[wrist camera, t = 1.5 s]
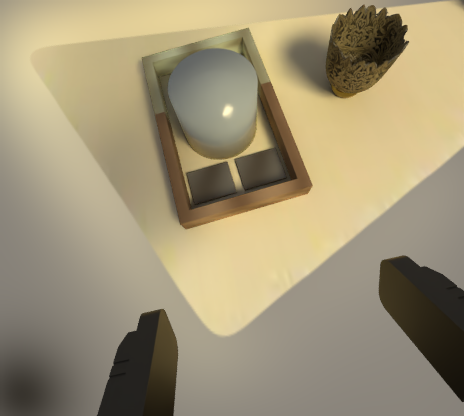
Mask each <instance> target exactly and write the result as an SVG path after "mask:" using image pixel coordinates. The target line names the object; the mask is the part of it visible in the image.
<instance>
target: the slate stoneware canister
mask: <svg viewBox="0 0 464 416" xmlns="http://www.w3.org/2000/svg"><path fill="white" fill-rule="evenodd" d="M257 87H258V79H257V74H256V71H255V69H254V67H253V65H252V64H251V63H250V62H249V61H248V59H246V58H245V57H244V56H242V55H241V54H239V53H237V52H235V51H232V50H228V49H221V48H212V49H205V50H201V51H198V52H195V53H193V54H191V55H189V56H188V57H186V58H185V59H183V60H182V61H181V62H180V63H179V64H178V65H177V66H176V67H175V69H174V70H173V72H172V74H171V76H170V78H169V82H168V95H169V98H170V101H171V103H172V106H173V108H174V110H175V113H176V115H177V117H178V120H179V122H180V125H181V127H182V129H183V132H184V134H185V136H186V139H187V141H188V143H189V145H190V146H191V147H192V149H193V150H194V151H195V152H197V153H198V154H200V155H201V156H204V157H206V158H210V159H216V160H222V159H228V158H232V157H234V156H237V155H239V154H240V153H242V152H243V151H245V150H246V149H247V148H248V147H249V146H250V144H251V143H252V141H253V139H254V137H255V134H256V126H257Z"/></svg>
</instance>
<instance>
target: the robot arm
mask: <svg viewBox="0 0 464 416" xmlns="http://www.w3.org/2000/svg"><path fill="white" fill-rule="evenodd" d="M379 296H380V300H381V302H382V304H383V306H384V308H385V309H386V310H387V312H388V313H389V314H390V315H391V316H392V318H393V319H394V320H395V321H396V323H397V324H398V325H399V326H400V327H401V329H402V330H403V331H404V332H405V333H406V335H407V336H408V337H409V338H410V340H411V341H412V342H413V343H414V344H415V346H416V347H417V348H418V349H419V350H420V352H421V353H422V354H423V355H424V356H425V358H426V359H427V360H428V361H429V362H430V364H431V365H432V366H433V367H434V369H435V370H436V371H437V372H438V373H439V374H440V376H441V377H442V378H443V379H444V381H445V382H446V383H447V384H448V385H449V386H450V388H451V389H452V390H453V392H454V393H455V394H456V395H457V396H458V398H459V399H460V400H461V401H462V402H464V291H463V290H462V289H461V288H458V287H457V285H455V284H454V283H453V282H452V281H450V280H449V279H448V278H447V277H445V276H444V275H443V274H441V273H438V272H436V271H434V270H432V269H430V268H428V267H420V266H419V265H417V264H416V263H415V262H414V261H412V260H411V259H410V258H409V257H407V256H399V257H394V258H390V259H386V260H382V262H381V265H380V279H379ZM177 361H178V346H177V340H176V337H175V334H174V332H173V329H172V327H171V324H170V322H169V319H168V317H167V314H166V312H165V310H164V309H160V310H155V311H151V312H147V313H143V314H141V316H140V319H139V323H138V327H137V331H133V332H129V333H128V334H127V335H126V337H125V338H124V339H123V341H122V342H121V344H120V345H119V347H118V349H117V353H116V356H115V359H114V366H112V369H111V372H110V375H109V377H110V379H109V380H108V382H107V385H106V388H105V392H104V395H103V399H102V402H101V405H100V408H99V412H98V415H97V416H173V413H174V401H175V388H176V375H177Z"/></svg>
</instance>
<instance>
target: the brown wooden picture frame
mask: <svg viewBox="0 0 464 416" xmlns="http://www.w3.org/2000/svg"><path fill="white" fill-rule="evenodd" d="M212 48H221V49H228V50H232V51H235V52H237V53H239V54H242V53H243V54H244V57H245V58H246V59H248V61H249V62H250V63H251V64H252V65H253V67H254V69H255V71H256V74H257V79H258V87H257V91H258V94H259V96H260V99H261V102H262V104H263V107H264V109H265V112H266V115H267V117H268V120H269V123H270V125H271V128H272V130H273V133H274V136H275V138H276V141H277V144H278V146H279V149H280V151H281V154H282V157H283V159H284V162H285V165H286V167H287V170H288V172H289V175H290V178H291V181H288V182H284V183H281V184H278V185H274V186H271V187H267V188H264V189H260V190H257V191H254V192H250V193H247V194H243V195H240V196H236V197H233V198H230V199H226V200H223V201H219V202H216V203H213V204H209V205H206V206H202V207H199V208H195V209H192V208H191V204H190V200H189V196H188V192H187V188H186V184H185V180H184V176H183V172H182V168H181V164H180V160H179V156H178V152H177V148H176V144H175V140H174V136H173V132H172V128H171V124H170V120H169V116H168V112H167V108H166V104H165V100H164V96H163V92H162V88H161V84H160V80H159V77H160V76H164V75H167V74H171V73H172V72H173V70H174V69H175V67H176V66H177V65H178V64H179V63H180V62H181V61H182V60H183V59H185V58H186V57H188V56H189V55H191V54H193V53H195V52H198V51H201V50H205V49H212ZM142 61H143V66H144V70H145V74H146V79H147V83H148V87H149V91H150V96H151V100H152V104H153V109H154V113H155V117H156V122H157V126H158V130H159V134H160V139H161V143H162V147H163V152H164V156H165V160H166V164H167V169H168V173H169V177H170V182H171V186H172V190H173V195H174V199H175V203H176V207H177V212H178V216H179V220H180V224H181V225H182V226H183V227H184V228H185V229H189V228H192V227H196V226H199V225H202V224H206V223H209V222H213V221H216V220H219V219H223V218H226V217H230V216H233V215H236V214H240V213H243V212H247V211H250V210H254V209H257V208H260V207H264V206H267V205H271V204H274V203H277V202H281V201H284V200H288V199H291V198H294V197H298V196H301V195H305V194H308V192H309V191H310V189H311V187H312V186H313V185H312V183H311V180H310V178H309V175H308V173H307V170H306V168H305V166H304V163H303V161H302V158H301V156H300V153H299V151H298V148H297V146H296V143H295V141H294V138H293V136H292V133H291V131H290V128H289V126H288V124H287V121H286V119H285V116H284V114H283V111H282V109H281V106H280V104H279V101H278V99H277V96H276V94H275V91H274V89H273V86H272V84H271V82H270V79H269V77H268V74H267V72H266V69H265V67H264V64H263V62H262V59H261V57H260V54H259V52H258V49H257V47H256V44H255V42H254V40H253V37H252V35H251V32H250V30H249V28H246V29H242V30H239V31H235V32H231V33H228V34H224V35H221V36H217V37H214V38H210V39H207V40H203V41H199V42H196V43H192V44H189V45H185V46H182V47H178V48H174V49H171V50H167V51H164V52H160V53H157V54H153V55H150V56H146V57H142ZM235 161H236V164H237V167H238V170H239V173H240V176H241V179H242V183H243V186H244V189H245V190H248V189H251V188H255V187H258V186H262V185H265V184H268V183H272V182H275V181H279V180H282V179H286V175H285V172H284V169H283V167H282V164H281V161H280V159H279V156H278V153H277V151H276V148H273V149H270V150H266V151H263V152H259V153H256V154H252V155H249V156H245V157H242V158H238V159H235ZM187 176H188V180H189V184H190V187H191V191H192V195H193V199H194V203H195V205H197V204H200V203H203V202H207V201H210V200H214V199H217V198H221V197H224V196H227V195H231V194H234V193H237V192H236V188H235V185H234V182H233V179H232V175H231V172H230V169H229V166H228V162H225V163H221V164H218V165H214V166H211V167H207V168H204V169H200V170H197V171H194V172H190V173H187Z"/></svg>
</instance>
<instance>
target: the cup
mask: <svg viewBox="0 0 464 416" xmlns="http://www.w3.org/2000/svg"><path fill="white" fill-rule="evenodd" d="M387 13H388V12H387V9H386V8H383V9H382V10H381V11H380V12H379V13H378V14H376V7H375V6H374V5H371V6H369V7H368V8H367V9H366V8H365V5H363V6H362V7H360V8H359V9H358V11H356V12H355V13H354V15H353V11H352V9H351V8H350V9H349V11H348V12H347V14H346V16H345V15H343V14H342V15H340V14H339V15H338V17H337V19H336V21H335V23H334V24H333V25H332V29H331V36H330V41H329V46H328V52H327V58H326V74H327V77H328V80H329V81H330V83H331V88H332V91H333V92H334V94H336V95H337V96H339V97H342V98H349V97H352V96H354V95H356V94H357V93H359V92H362V91H365V90H367V89H369V88H370V87H372V86H373V85H374V84H375V83H377V82H378V81H379V80H380V79H381V78H382V76H383V75H384V74H385V73H386V72H387V70H388V69H389V68H390V67H391V66H392V64H393V63H394V62H395V61H396V59H397V58H398V57H399V56H400V54H401V53H402V52H403V50H404V49H405V48H406V46H407V45H408V43H409V41H406V42H405V39H404V35H405V33H406V32H407V30H408V28H407V25H404V26H402V19H401V17H400V14H394V15H391V16H386V14H387ZM376 15H377V16H376ZM404 42H405V43H404Z"/></svg>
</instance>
